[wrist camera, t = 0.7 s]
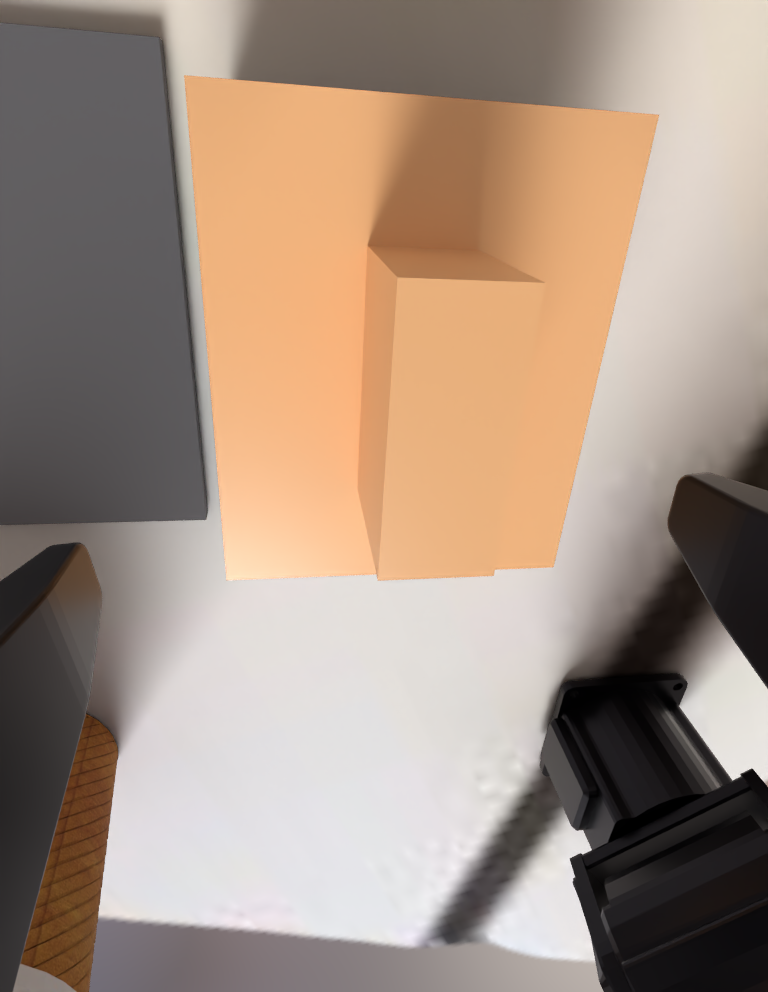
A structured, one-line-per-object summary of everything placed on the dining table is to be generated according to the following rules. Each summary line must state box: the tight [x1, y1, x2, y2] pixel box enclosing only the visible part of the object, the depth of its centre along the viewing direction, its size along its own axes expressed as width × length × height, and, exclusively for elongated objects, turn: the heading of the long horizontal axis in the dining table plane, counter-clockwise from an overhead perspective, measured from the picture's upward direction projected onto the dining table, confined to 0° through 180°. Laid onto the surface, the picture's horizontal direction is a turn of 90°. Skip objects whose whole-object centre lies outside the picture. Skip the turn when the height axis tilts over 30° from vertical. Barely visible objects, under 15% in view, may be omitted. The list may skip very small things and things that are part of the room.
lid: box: [184, 75, 659, 581], centre depth 14 cm, size 10×12×6 cm
